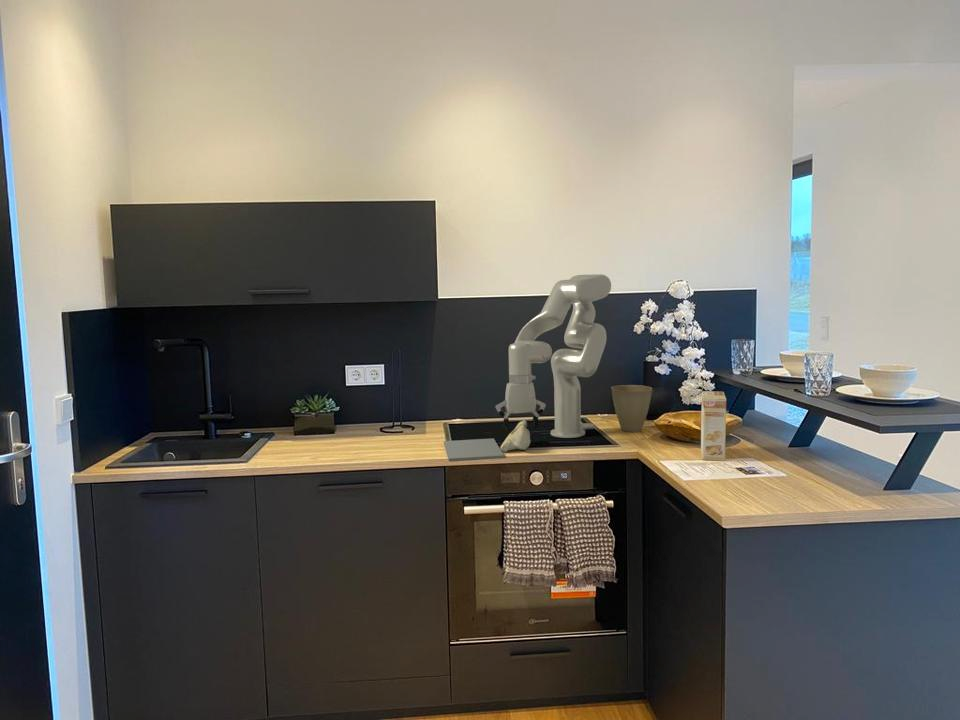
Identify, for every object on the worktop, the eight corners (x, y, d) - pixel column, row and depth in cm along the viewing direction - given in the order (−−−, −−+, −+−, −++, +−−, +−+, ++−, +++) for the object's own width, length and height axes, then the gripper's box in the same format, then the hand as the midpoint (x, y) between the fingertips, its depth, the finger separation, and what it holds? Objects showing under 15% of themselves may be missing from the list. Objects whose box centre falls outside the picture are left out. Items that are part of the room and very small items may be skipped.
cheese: (519, 462, 227) (548, 429, 231) (503, 446, 226) (532, 414, 231) (506, 465, 241) (534, 433, 246) (491, 450, 241) (519, 419, 245)
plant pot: (657, 433, 253) (657, 390, 251) (617, 435, 252) (617, 391, 250) (645, 424, 268) (645, 383, 266) (607, 426, 267) (606, 385, 265)
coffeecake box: (726, 461, 214) (727, 399, 211) (701, 460, 216) (702, 398, 213) (723, 449, 228) (724, 390, 226) (700, 448, 230) (701, 390, 228)
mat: (493, 440, 249) (493, 438, 249) (504, 457, 225) (504, 455, 225) (443, 443, 247) (443, 441, 246) (448, 461, 223) (448, 458, 223)
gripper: (542, 377, 240) (543, 425, 242) (493, 379, 238) (494, 427, 240) (547, 380, 232) (548, 430, 234) (496, 382, 230) (497, 432, 232)
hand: (521, 429), depth 237 cm, fingers open, 9 cm apart
